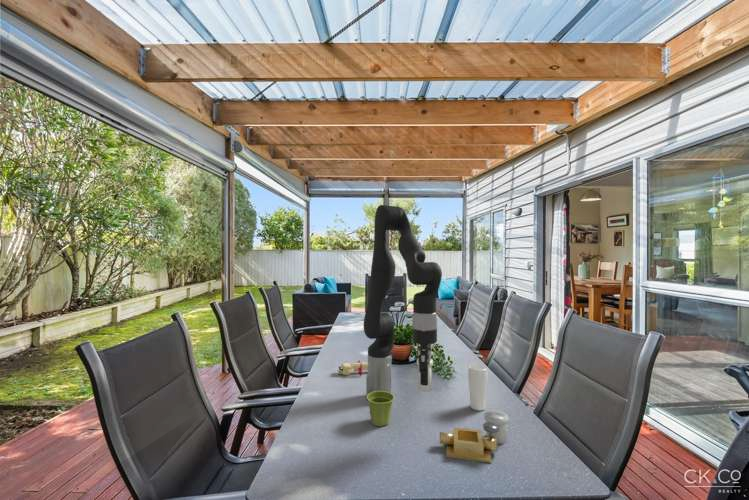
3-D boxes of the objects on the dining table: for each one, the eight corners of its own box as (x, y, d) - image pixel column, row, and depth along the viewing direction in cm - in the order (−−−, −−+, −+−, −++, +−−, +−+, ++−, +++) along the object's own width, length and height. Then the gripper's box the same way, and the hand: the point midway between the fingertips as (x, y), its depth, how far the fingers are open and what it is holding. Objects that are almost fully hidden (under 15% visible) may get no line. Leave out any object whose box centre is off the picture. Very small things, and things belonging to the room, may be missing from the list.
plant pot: (397, 418, 118) (397, 393, 118) (389, 431, 109) (389, 404, 109) (372, 413, 121) (372, 389, 121) (362, 426, 112) (362, 400, 112)
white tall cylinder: (488, 413, 121) (488, 371, 121) (468, 411, 123) (468, 369, 123) (486, 404, 128) (486, 364, 128) (467, 403, 129) (467, 363, 129)
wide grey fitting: (486, 443, 102) (485, 420, 102) (483, 431, 109) (483, 409, 109) (510, 446, 101) (510, 422, 101) (506, 433, 108) (506, 411, 108)
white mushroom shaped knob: (415, 391, 103) (415, 362, 103) (417, 385, 108) (417, 357, 108) (432, 393, 102) (432, 363, 102) (433, 386, 107) (433, 358, 107)
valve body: (439, 456, 96) (439, 429, 96) (440, 437, 106) (440, 412, 106) (501, 464, 92) (501, 436, 92) (496, 443, 102) (496, 418, 102)
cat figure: (386, 370, 168) (336, 369, 163) (388, 352, 168) (338, 351, 163) (391, 378, 158) (338, 377, 153) (393, 359, 158) (340, 358, 153)
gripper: (414, 321, 113) (415, 373, 113) (409, 331, 99) (409, 390, 99) (437, 322, 111) (437, 374, 111) (435, 332, 97) (436, 392, 97)
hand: (424, 381), depth 105 cm, fingers closed on white mushroom shaped knob, 4 cm apart
